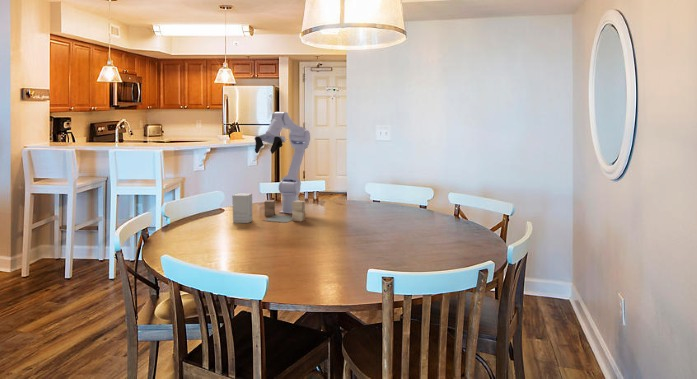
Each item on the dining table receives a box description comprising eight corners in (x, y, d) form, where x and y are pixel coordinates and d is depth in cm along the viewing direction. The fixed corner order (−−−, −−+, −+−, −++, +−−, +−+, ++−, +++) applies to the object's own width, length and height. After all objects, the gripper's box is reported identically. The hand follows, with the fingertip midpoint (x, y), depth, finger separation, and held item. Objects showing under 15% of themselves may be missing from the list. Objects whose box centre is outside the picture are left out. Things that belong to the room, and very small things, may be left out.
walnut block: (265, 213, 245) (265, 200, 244) (274, 214, 245) (274, 200, 244) (264, 215, 241) (264, 201, 240) (273, 215, 241) (273, 201, 240)
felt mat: (276, 215, 242) (276, 214, 242) (298, 217, 238) (298, 216, 238) (262, 220, 229) (262, 220, 229) (286, 222, 225) (286, 222, 225)
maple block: (296, 219, 234) (296, 200, 233) (305, 219, 232) (305, 200, 231) (292, 220, 230) (292, 201, 228) (301, 221, 228) (301, 202, 227)
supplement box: (253, 220, 230) (252, 193, 228) (248, 223, 222) (248, 195, 221) (237, 219, 230) (237, 192, 229) (232, 222, 223) (231, 195, 221)
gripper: (256, 124, 228) (246, 144, 219) (285, 124, 223) (275, 145, 215) (261, 135, 233) (251, 156, 224) (290, 136, 228) (280, 157, 220)
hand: (263, 151), depth 220 cm, fingers open, 7 cm apart
